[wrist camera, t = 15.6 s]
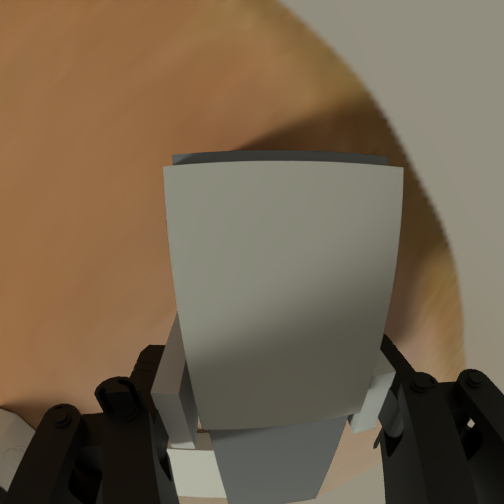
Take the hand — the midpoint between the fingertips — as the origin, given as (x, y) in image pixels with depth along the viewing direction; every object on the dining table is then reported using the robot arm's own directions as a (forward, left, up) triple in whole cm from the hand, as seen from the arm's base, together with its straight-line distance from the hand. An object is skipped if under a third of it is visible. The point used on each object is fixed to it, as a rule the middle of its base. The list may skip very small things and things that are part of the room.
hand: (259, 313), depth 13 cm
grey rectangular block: (0, 0, -1) cm, 1 cm away
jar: (+18, -27, -1) cm, 32 cm away
